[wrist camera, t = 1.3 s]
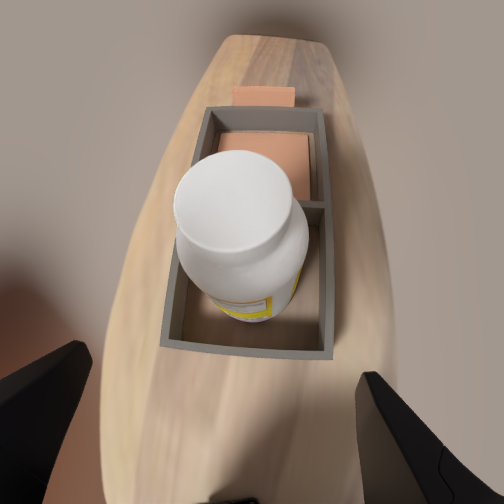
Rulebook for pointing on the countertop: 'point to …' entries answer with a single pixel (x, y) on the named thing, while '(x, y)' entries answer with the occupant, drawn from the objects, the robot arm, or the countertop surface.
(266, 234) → the supplement bottle
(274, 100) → the tray
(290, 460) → the countertop surface
